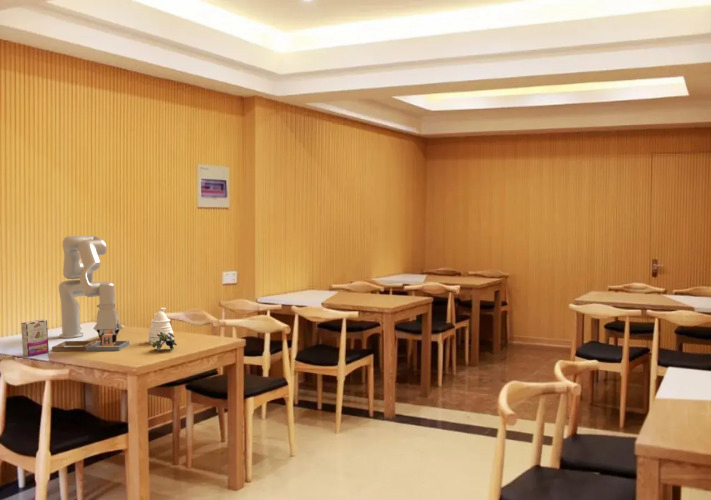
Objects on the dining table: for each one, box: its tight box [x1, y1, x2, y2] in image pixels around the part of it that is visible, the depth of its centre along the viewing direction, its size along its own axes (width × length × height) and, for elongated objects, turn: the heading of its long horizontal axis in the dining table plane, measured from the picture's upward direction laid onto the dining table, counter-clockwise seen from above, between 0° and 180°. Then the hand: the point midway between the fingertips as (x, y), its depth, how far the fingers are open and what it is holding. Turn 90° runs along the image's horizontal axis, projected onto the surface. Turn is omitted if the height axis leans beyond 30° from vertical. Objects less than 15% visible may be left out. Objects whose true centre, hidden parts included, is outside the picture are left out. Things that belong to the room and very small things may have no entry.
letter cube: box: [101, 334, 115, 346], centre depth 348 cm, size 5×5×5 cm
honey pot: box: [148, 307, 175, 345], centre depth 362 cm, size 13×13×18 cm
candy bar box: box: [20, 319, 50, 357], centre depth 334 cm, size 11×5×16 cm, turn 148°
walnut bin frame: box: [51, 340, 97, 352], centre depth 349 cm, size 16×16×2 cm
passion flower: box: [148, 332, 178, 353], centre depth 340 cm, size 11×11×12 cm
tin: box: [97, 327, 120, 338], centre depth 376 cm, size 15×3×8 cm, turn 161°
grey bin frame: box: [86, 340, 130, 352], centre depth 349 cm, size 16×16×2 cm
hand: (108, 341), depth 348 cm, fingers closed on letter cube, 5 cm apart
